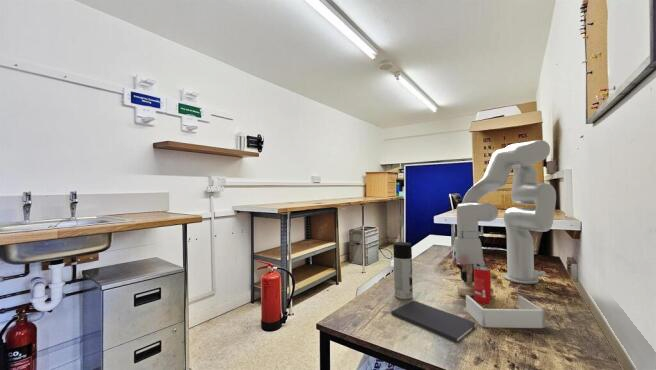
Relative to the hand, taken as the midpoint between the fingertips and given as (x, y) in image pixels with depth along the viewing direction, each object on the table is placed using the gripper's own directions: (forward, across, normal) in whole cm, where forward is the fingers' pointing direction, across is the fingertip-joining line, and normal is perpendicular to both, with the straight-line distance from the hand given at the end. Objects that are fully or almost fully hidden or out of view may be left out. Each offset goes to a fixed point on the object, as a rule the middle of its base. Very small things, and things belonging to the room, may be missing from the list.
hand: (468, 280), depth 107 cm
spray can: (+4, +27, +7) cm, 28 cm away
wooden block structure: (+3, 0, +2) cm, 4 cm away
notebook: (+4, +22, +25) cm, 34 cm away
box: (+4, 0, +23) cm, 23 cm away
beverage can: (+4, 0, +11) cm, 12 cm away
